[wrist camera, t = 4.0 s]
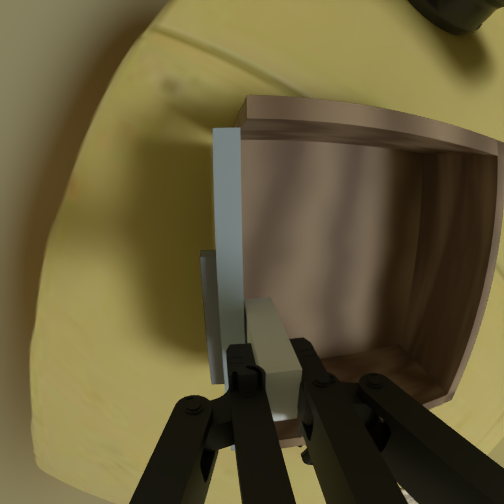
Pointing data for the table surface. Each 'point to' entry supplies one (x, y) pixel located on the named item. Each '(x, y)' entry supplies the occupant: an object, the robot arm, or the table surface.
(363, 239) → the box
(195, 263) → the table surface
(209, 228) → the table surface
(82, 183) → the table surface
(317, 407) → the robot arm
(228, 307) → the panel
